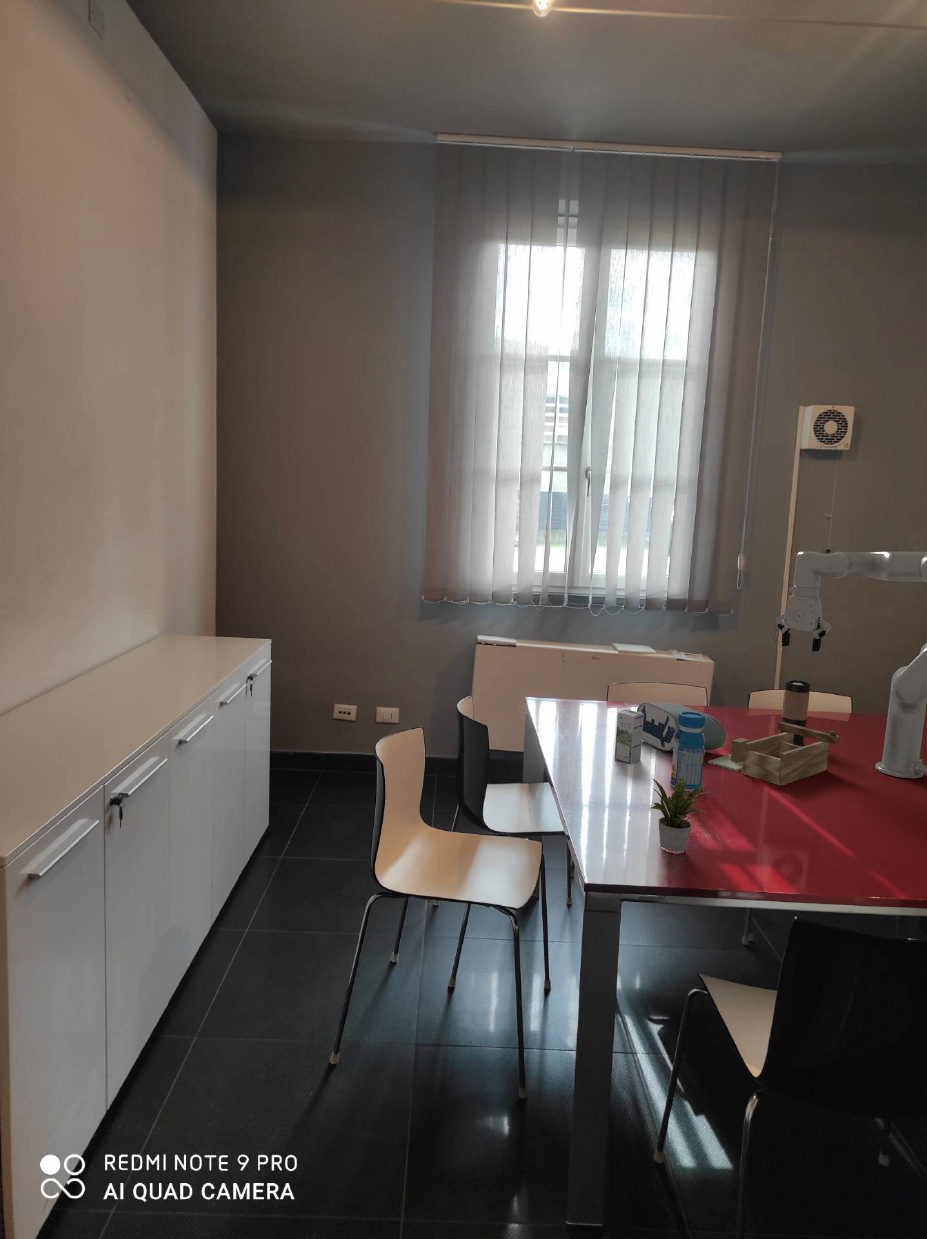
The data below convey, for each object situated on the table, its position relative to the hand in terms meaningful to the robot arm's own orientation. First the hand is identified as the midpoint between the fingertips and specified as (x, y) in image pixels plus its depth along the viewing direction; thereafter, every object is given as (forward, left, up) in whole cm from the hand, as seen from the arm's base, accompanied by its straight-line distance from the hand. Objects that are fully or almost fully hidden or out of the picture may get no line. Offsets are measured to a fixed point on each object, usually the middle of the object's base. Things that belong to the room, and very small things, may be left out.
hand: (800, 648), depth 260 cm
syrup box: (+23, +50, -33) cm, 64 cm away
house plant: (-26, +93, -33) cm, 102 cm away
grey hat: (+24, +24, -34) cm, 48 cm away
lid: (+4, +22, -34) cm, 40 cm away
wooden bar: (-9, +7, -24) cm, 27 cm away
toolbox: (-9, +18, -33) cm, 39 cm away
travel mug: (+6, -12, -33) cm, 36 cm away
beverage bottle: (-1, +55, -33) cm, 64 cm away
